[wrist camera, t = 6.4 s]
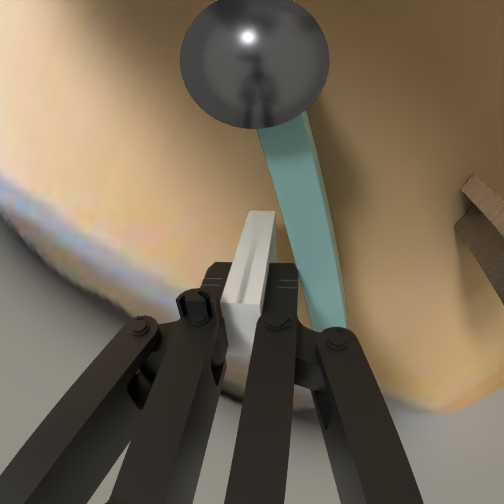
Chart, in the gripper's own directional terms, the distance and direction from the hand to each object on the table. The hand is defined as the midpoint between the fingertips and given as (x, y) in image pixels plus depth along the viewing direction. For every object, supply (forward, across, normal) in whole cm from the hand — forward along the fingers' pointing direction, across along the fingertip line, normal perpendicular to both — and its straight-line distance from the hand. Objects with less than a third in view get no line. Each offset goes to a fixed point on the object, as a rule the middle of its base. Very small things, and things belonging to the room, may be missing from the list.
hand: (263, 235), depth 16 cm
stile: (+2, +12, 0) cm, 13 cm away
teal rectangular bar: (+1, +2, +3) cm, 4 cm away
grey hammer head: (+2, +1, +8) cm, 9 cm away
